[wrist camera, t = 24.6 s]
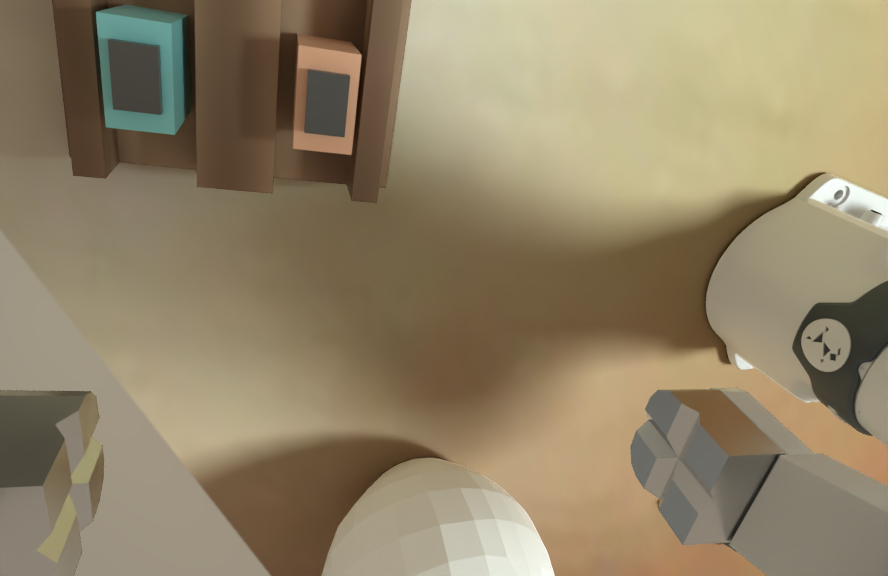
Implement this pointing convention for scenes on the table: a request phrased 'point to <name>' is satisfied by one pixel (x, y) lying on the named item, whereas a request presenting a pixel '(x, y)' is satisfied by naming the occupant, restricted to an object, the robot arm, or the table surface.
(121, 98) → the teal box with panel
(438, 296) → the table surface
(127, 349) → the table surface
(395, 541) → the pitcher
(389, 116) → the brown slotted tray
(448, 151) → the table surface
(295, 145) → the orange rectangular block
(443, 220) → the table surface
